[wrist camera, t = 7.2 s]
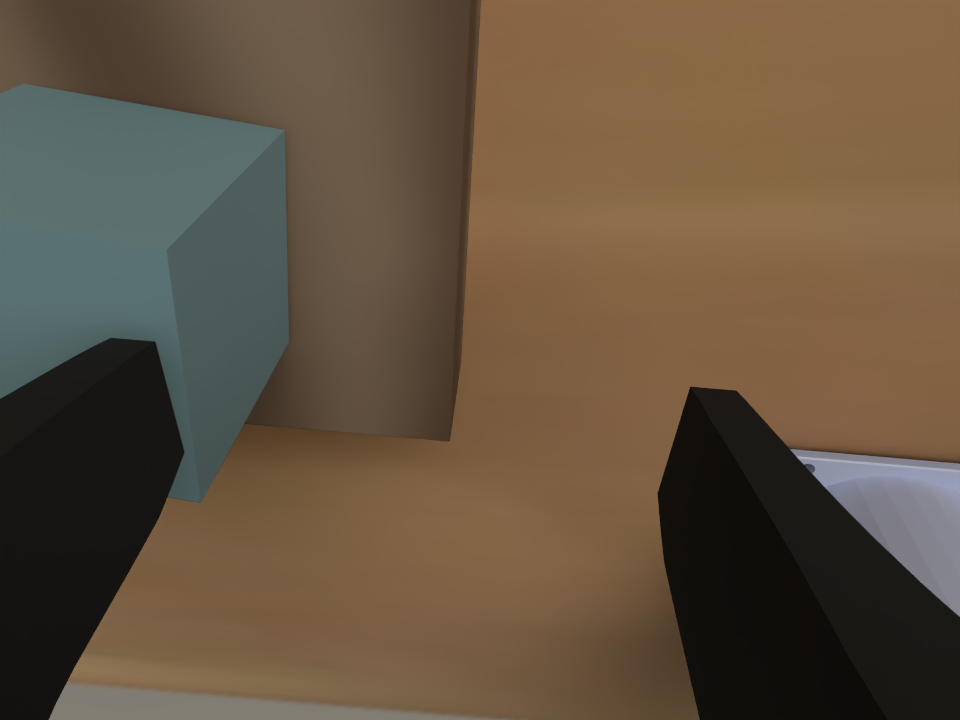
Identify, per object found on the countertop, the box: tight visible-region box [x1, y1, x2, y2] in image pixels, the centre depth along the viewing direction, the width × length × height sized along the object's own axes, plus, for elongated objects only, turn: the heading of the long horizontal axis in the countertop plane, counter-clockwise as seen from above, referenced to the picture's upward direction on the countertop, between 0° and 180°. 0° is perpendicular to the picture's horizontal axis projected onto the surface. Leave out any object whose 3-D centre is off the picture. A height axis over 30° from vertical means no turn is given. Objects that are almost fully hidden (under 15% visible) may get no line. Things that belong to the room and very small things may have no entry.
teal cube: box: [0, 84, 289, 503], centre depth 13 cm, size 5×5×5 cm
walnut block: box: [0, 0, 481, 441], centre depth 16 cm, size 12×12×4 cm
